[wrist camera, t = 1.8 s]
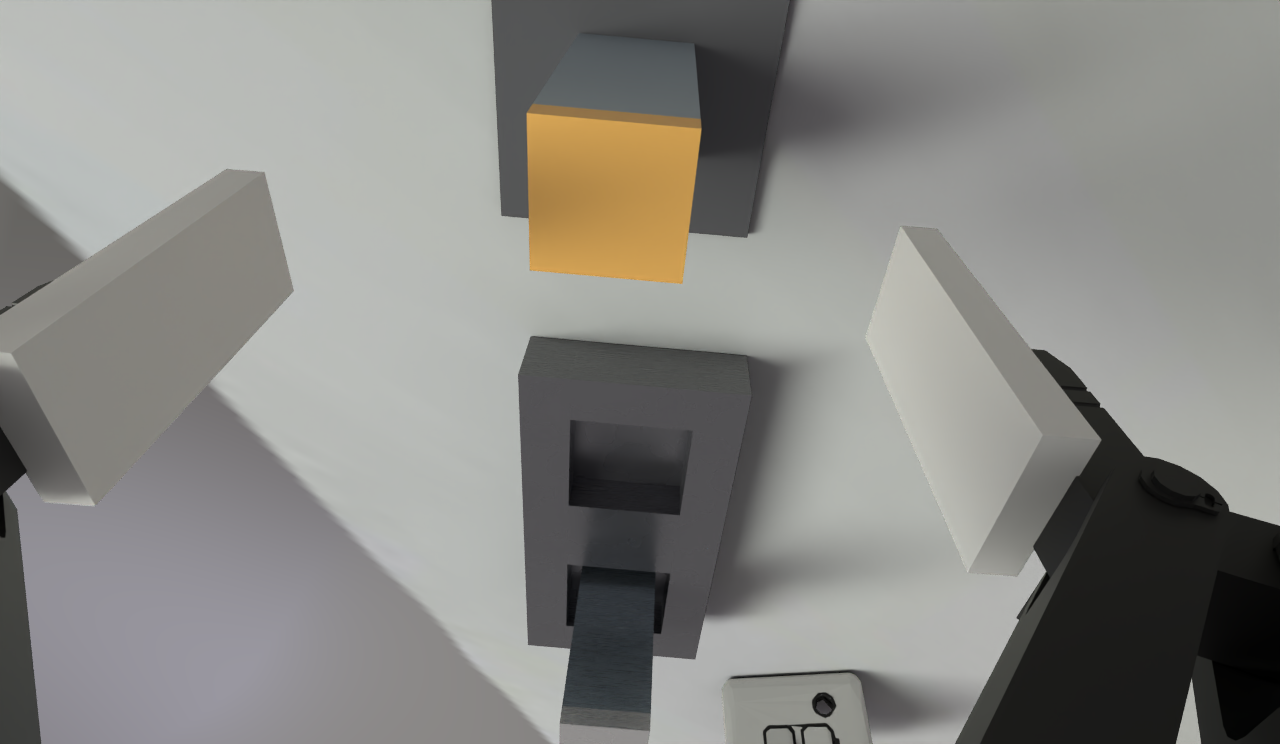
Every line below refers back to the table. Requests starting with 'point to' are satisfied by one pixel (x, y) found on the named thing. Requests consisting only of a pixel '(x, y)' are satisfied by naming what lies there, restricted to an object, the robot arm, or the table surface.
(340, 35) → the table surface
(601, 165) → the plug
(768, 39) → the mat
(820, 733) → the electrical switch
